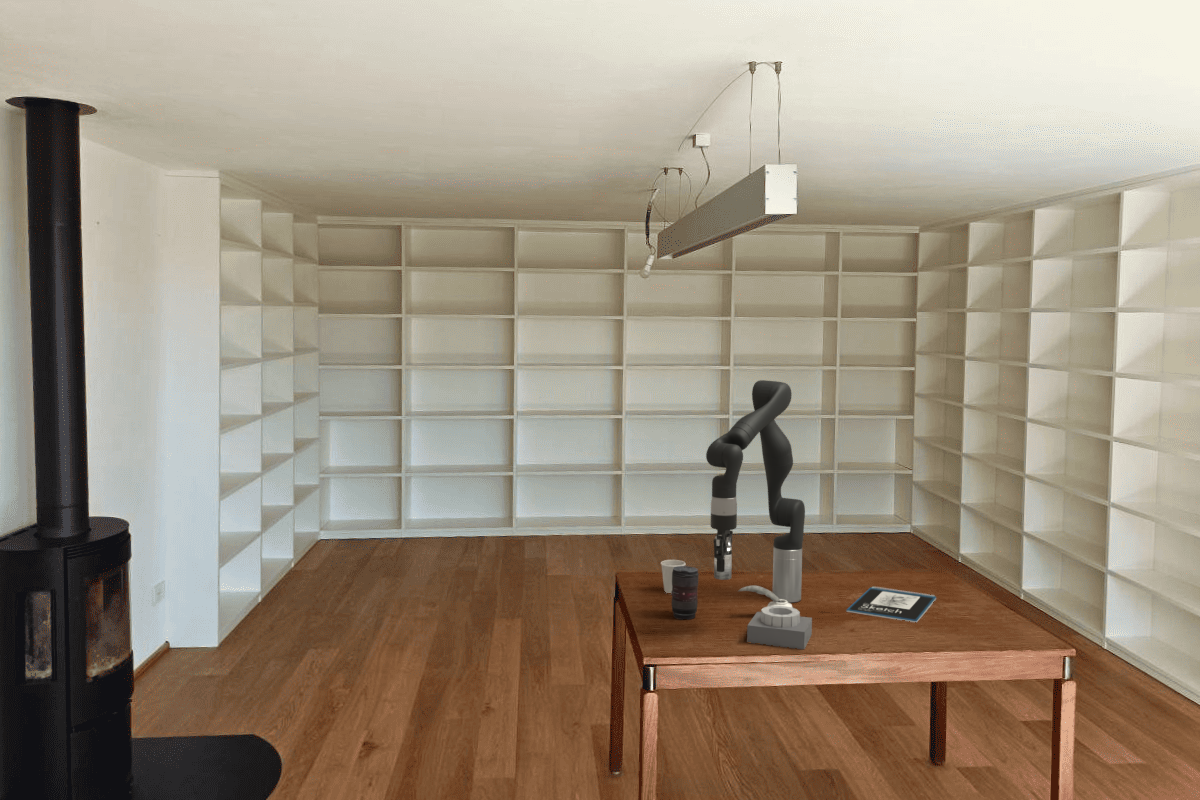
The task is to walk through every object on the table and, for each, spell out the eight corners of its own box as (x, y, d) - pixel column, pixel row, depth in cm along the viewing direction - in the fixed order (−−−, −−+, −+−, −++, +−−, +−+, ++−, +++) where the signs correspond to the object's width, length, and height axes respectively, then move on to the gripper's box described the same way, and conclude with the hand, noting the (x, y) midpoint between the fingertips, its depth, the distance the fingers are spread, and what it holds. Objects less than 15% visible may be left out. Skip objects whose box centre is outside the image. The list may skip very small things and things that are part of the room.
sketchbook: (846, 613, 306) (846, 607, 305) (871, 591, 332) (871, 585, 331) (916, 624, 295) (916, 617, 295) (936, 600, 321) (936, 594, 321)
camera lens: (696, 621, 294) (697, 572, 293) (669, 619, 296) (670, 571, 295) (699, 613, 302) (699, 566, 301) (673, 611, 304) (673, 564, 302)
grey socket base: (756, 628, 288) (757, 601, 288) (811, 634, 283) (812, 607, 282) (747, 642, 275) (747, 614, 274) (804, 649, 270) (804, 621, 269)
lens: (716, 574, 287) (716, 544, 286) (733, 576, 285) (733, 545, 284) (712, 578, 282) (712, 548, 281) (729, 580, 280) (729, 549, 280)
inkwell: (799, 621, 295) (800, 588, 295) (741, 623, 293) (742, 590, 292) (789, 612, 305) (790, 580, 304) (733, 614, 302) (734, 582, 301)
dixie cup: (662, 587, 331) (662, 559, 330) (686, 589, 329) (687, 560, 329) (658, 594, 323) (659, 564, 322) (683, 596, 321) (684, 566, 320)
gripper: (730, 517, 274) (729, 576, 275) (741, 508, 287) (740, 564, 289) (705, 515, 276) (704, 574, 278) (716, 506, 290) (716, 562, 291)
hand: (722, 569), depth 283 cm, fingers closed on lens, 5 cm apart
